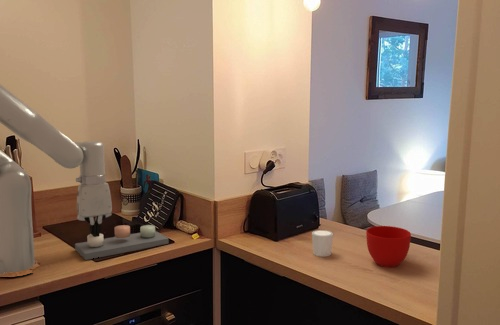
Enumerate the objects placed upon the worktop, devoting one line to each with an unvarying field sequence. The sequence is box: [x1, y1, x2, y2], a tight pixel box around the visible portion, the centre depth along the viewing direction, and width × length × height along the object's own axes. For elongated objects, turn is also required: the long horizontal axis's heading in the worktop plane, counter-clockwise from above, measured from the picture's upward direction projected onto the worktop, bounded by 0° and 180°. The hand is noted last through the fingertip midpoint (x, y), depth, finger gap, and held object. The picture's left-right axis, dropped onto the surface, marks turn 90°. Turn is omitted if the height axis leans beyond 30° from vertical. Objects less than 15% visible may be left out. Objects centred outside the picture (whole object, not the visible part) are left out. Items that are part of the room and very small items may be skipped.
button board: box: [74, 230, 170, 261], centre depth 154 cm, size 28×12×2 cm, turn 125°
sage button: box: [139, 224, 156, 238], centre depth 159 cm, size 5×5×3 cm
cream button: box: [86, 233, 105, 247], centre depth 149 cm, size 5×5×3 cm
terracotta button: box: [114, 224, 131, 238], centre depth 154 cm, size 5×5×3 cm
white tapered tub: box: [311, 229, 334, 257], centre depth 148 cm, size 7×7×7 cm
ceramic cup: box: [365, 225, 412, 268], centre depth 141 cm, size 13×17×10 cm
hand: (95, 235), depth 149 cm, fingers closed
